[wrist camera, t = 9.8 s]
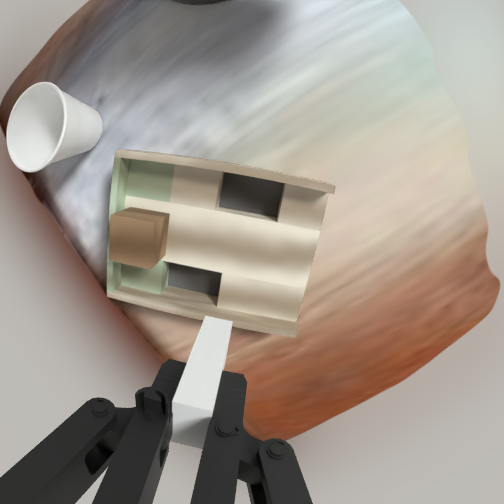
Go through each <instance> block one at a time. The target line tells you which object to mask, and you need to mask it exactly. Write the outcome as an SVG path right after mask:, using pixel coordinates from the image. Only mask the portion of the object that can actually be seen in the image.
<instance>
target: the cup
mask: <svg viewBox="0 0 504 504" xmlns="http://www.w3.org/2000/svg"><path fill="white" fill-rule="evenodd" d="M102 127H103V124H102V119H101V116H100V115H99V113H98V112H97V111H96V110H95V109H93V108H91V107H89V106H88V105H86V104H84V103H82V102H81V101H79V100H77V99H75V98H73V97H72V96H70V95H68V94H67V93H65V92H63V91H61V90H60V89H59V88H58V87H57V86H56V85H54V84H53V83H50V82H39V83H36V84H34V85H32V86H31V87H29V88H28V89H27V90H26V91H24V92H23V93H22V95H21V96H20V97H19V98H18V100H17V102H16V103H15V105H14V107H13V109H12V111H11V114H10V117H9V120H8V125H7V135H6V139H7V148H8V152H9V155H10V157H11V159H12V161H13V163H14V164H15V165H16V166H17V167H18V168H19V169H21V170H23V171H25V172H37V171H39V170H41V169H43V168H44V167H46V166H47V165H49V164H52V163H55V162H57V161H60V160H63V159H66V158H68V157H71V156H74V155H78V154H81V153H84V152H86V151H89V150H91V149H92V148H93V147H94V146H95V145H96V144H97V143H98V141H99V139H100V137H101V134H102Z"/></svg>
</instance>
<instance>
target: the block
mask: <svg viewBox="0 0 504 504" xmlns="http://www.w3.org/2000/svg"><path fill="white" fill-rule="evenodd" d="M169 217H170V213H164V212H158V211H153V210H147V209H141V208H135V207H129V208H126V209H124V210H121V211H119V212H116V213H114V214H111V218H110V238H109V260H110V261H114V262H119V263H123V264H127V265H132V266H136V267H140V268H145V269H149V270H151V269H152V268H153V267H154V266H155V265H156V264H157V263H158V262H159V261H160V260H161V259H162V258H163V257H164V256H165V255H166V245H167V235H168V226H169Z"/></svg>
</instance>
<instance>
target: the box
mask: <svg viewBox="0 0 504 504" xmlns="http://www.w3.org/2000/svg"><path fill="white" fill-rule="evenodd" d="M224 173H225V174H224ZM223 179H224V180H223ZM283 184H284V186H283ZM222 185H223V186H222ZM335 187H336V186H334V185H331V184H329V183H326V182H322V181H318V180H314V179H309V178H305V177H300V176H295V175H291V174H286V173H281V172H276V171H271V170H266V169H261V168H256V167H250V166H245V165H239V164H233V163H227V162H221V161H215V160H208V159H202V158H195V157H188V156H181V155H173V154H165V153H157V152H148V151H139V150H116V151H115V158H114V166H113V174H112V184H111V194H110V206H109V220H108V240H107V297H110V298H114V299H117V300H121V301H125V302H129V303H132V304H136V305H140V306H144V307H148V308H152V309H156V310H160V311H164V312H168V313H172V314H176V315H181V316H185V317H189V318H194V319H198V320H203V321H204V318H205V316H209V317H214V318H219V319H223V320H228V321H233V324H232V327H237V328H242V329H247V330H253V331H258V332H264V333H269V334H275V335H281V336H287V337H293V338H296V336H297V333H298V332H297V325H296V320H297V317H298V313H299V310H300V306H301V303H302V299H303V295H304V292H305V288H306V284H307V281H308V277H309V273H310V269H311V266H312V262H313V258H314V254H315V250H316V246H317V242H318V238H319V234H320V230H321V225H322V221H323V217H324V213H325V208H326V204H327V200H328V195H329V193H331V194H334V192H335ZM282 189H283V191H282ZM221 190H222V192H221ZM281 194H282V195H281ZM220 196H221V197H220ZM280 199H281V200H280ZM219 202H220V203H219ZM279 204H280V205H279ZM220 206H221V207H220ZM129 207H135V208H141V209H147V210H153V211H158V212H164V213H170V217H169V226H168V235H167V245H166V255H165V256H164V257H163V258H162V259H161V260H160V261H159V262H158V263H157V264H156V265H155V266H154V267H153V268H152V269H151V270H149V269H145V268H140V267H136V266H132V265H127V264H123V263H119V262H114V261H110V260H109V238H110V218H111V214H114V213H116V212H119V211H121V210H124V209H126V208H129ZM231 208H232V209H231ZM278 208H279V210H278ZM236 209H237V210H236ZM252 212H253V213H252ZM257 213H258V214H257ZM277 213H278V215H277ZM262 214H263V215H262ZM267 215H268V216H267ZM272 216H273V217H272Z"/></svg>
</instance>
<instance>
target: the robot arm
mask: <svg viewBox="0 0 504 504" xmlns="http://www.w3.org/2000/svg"><path fill="white" fill-rule="evenodd" d="M174 1H177V2H181V3H186V4H209V3H215V2H220V1H224V0H174ZM232 324H233V321H228V320H223V319H219V318H214V317H209V316H205V318H204V321H203V323H202V326H201V328H200V331H199V333H198V336H197V339H196V341H195V344H194V346H193V349H192V351H191V354H190V356H189V359H188V362H187V363H184V362H180V361H176V360H172V359H169V360H167V361H166V362H165V363H163V364H162V366H161V368H160V370H159V372H158V374H157V376H156V379H155V380H154V382H153V384H152V386H151V387H146V388H142V389H140V390H138V391H137V393H136V394H135V399H136V407H133V408H117V407H115V406H114V404H113V403H112V402H111V401H109V400H107V399H105V398H92V399H90V400H89V401H87V402H86V403H85V404H84V405H82V406H81V407H80V408H79V409H78V410H77V411H76V412H75V413H73V414H72V415H71V416H70V417H69V418H68V419H66V420H65V421H64V422H63V423H62V424H61V425H60V426H59V427H58V428H56V429H55V430H54V431H53V432H52V433H51V434H49V435H48V436H47V437H46V438H45V439H44V440H43V441H41V442H40V443H39V444H38V445H37V446H36V447H35V448H34V449H32V450H31V451H30V452H29V453H28V454H27V455H26V456H24V457H23V458H22V459H21V460H20V461H19V462H18V463H16V465H14V466H13V467H12V468H11V469H10V470H8V471H7V472H6V473H5V474H4V475H3V476H2V477H0V504H75V503H76V502H77V501H78V500H79V499H80V498H81V496H82V495H83V494H84V493H85V492H86V491H87V490H88V489H89V488H90V486H91V485H92V484H93V483H94V482H95V481H96V480H97V478H98V477H99V476H100V475H101V474H102V473H103V472H104V471H105V469H106V468H107V467H108V466H109V467H108V469H107V471H106V473H105V476H104V478H103V480H102V482H101V484H100V487H99V489H98V491H97V493H96V496H95V498H94V500H93V503H92V504H152V503H153V499H154V496H155V493H156V489H157V486H158V483H159V480H160V477H161V474H162V470H163V467H164V464H165V461H166V458H167V455H168V452H169V442H170V439H171V441H172V442H176V443H180V444H184V445H188V446H192V447H197V448H201V449H203V451H202V455H201V459H200V464H199V468H198V473H197V477H196V481H195V486H194V490H193V494H192V499H191V503H190V504H234V502H235V494H236V486H237V479H240V480H242V481H244V482H246V483H247V487H248V492H249V497H250V501H251V504H313V503H312V501H311V498H310V495H309V492H308V489H307V487H306V484H305V481H304V478H303V476H302V473H301V470H300V467H299V464H298V461H297V459H296V456H295V453H294V450H293V449H292V447H291V446H290V444H288V443H287V442H286V441H283V440H281V439H274V438H272V439H268V440H266V441H261V440H259V439H257V438H254V437H253V436H251V435H250V434H248V433H247V432H246V430H245V429H244V427H243V414H244V405H245V396H246V388H247V381H246V379H245V377H244V375H243V374H238V373H233V372H228V371H223V370H224V365H225V361H226V356H227V350H228V345H229V340H230V334H231V329H232Z"/></svg>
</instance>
